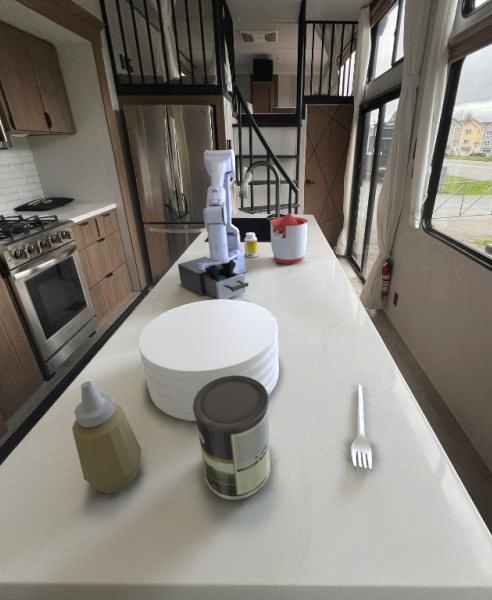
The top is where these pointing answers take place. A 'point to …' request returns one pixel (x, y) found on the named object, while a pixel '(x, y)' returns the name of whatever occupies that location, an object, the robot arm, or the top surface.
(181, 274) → the small drawer box
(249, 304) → the plate stack
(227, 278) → the block
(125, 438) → the squeeze bottle
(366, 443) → the fork
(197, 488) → the top surface
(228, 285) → the grey drawer
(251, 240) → the supplement bottle
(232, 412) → the coffee can
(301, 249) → the citrus juicer
